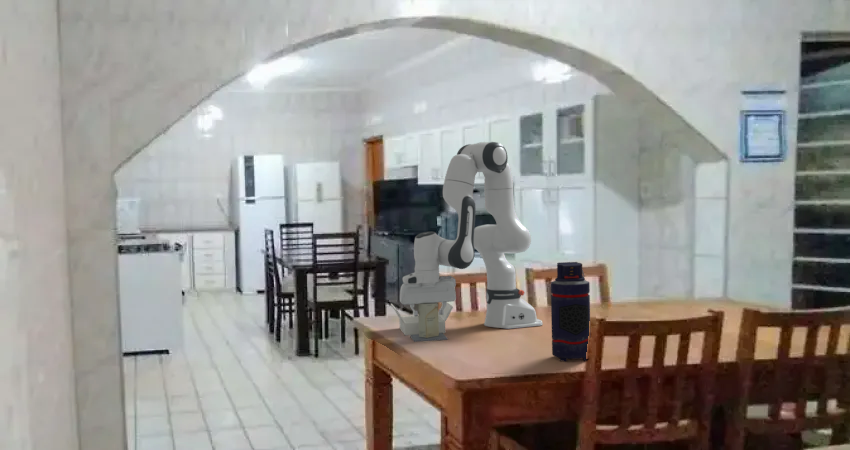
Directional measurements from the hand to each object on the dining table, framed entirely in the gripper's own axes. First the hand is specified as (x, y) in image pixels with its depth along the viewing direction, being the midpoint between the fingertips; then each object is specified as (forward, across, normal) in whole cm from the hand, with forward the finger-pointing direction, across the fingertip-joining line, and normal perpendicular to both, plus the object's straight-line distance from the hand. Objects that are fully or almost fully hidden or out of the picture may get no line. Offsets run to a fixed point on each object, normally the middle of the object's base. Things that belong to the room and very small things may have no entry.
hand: (428, 315), depth 289 cm
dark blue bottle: (+9, -38, +44) cm, 59 cm away
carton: (+8, 0, -15) cm, 17 cm away
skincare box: (+8, 0, 0) cm, 8 cm away
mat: (+8, 0, 0) cm, 8 cm away
